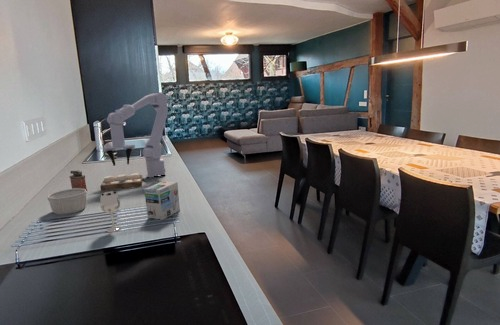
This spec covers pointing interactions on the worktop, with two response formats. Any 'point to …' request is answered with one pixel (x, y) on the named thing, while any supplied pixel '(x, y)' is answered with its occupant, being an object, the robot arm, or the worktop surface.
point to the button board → (121, 184)
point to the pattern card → (121, 182)
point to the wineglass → (110, 206)
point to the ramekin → (68, 201)
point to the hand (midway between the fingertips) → (121, 164)
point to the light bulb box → (162, 200)
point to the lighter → (77, 180)
